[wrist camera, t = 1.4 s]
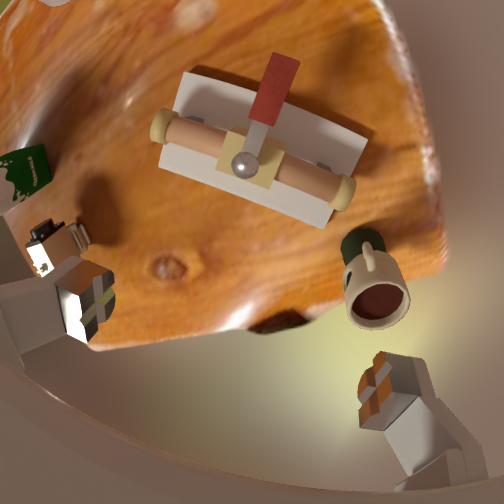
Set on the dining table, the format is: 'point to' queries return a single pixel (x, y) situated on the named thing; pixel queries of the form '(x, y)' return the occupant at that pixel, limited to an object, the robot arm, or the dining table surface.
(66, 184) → the dining table surface
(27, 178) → the milk carton
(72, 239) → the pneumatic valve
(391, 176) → the dining table surface
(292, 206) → the board
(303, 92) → the dining table surface
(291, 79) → the lever
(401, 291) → the character mug
